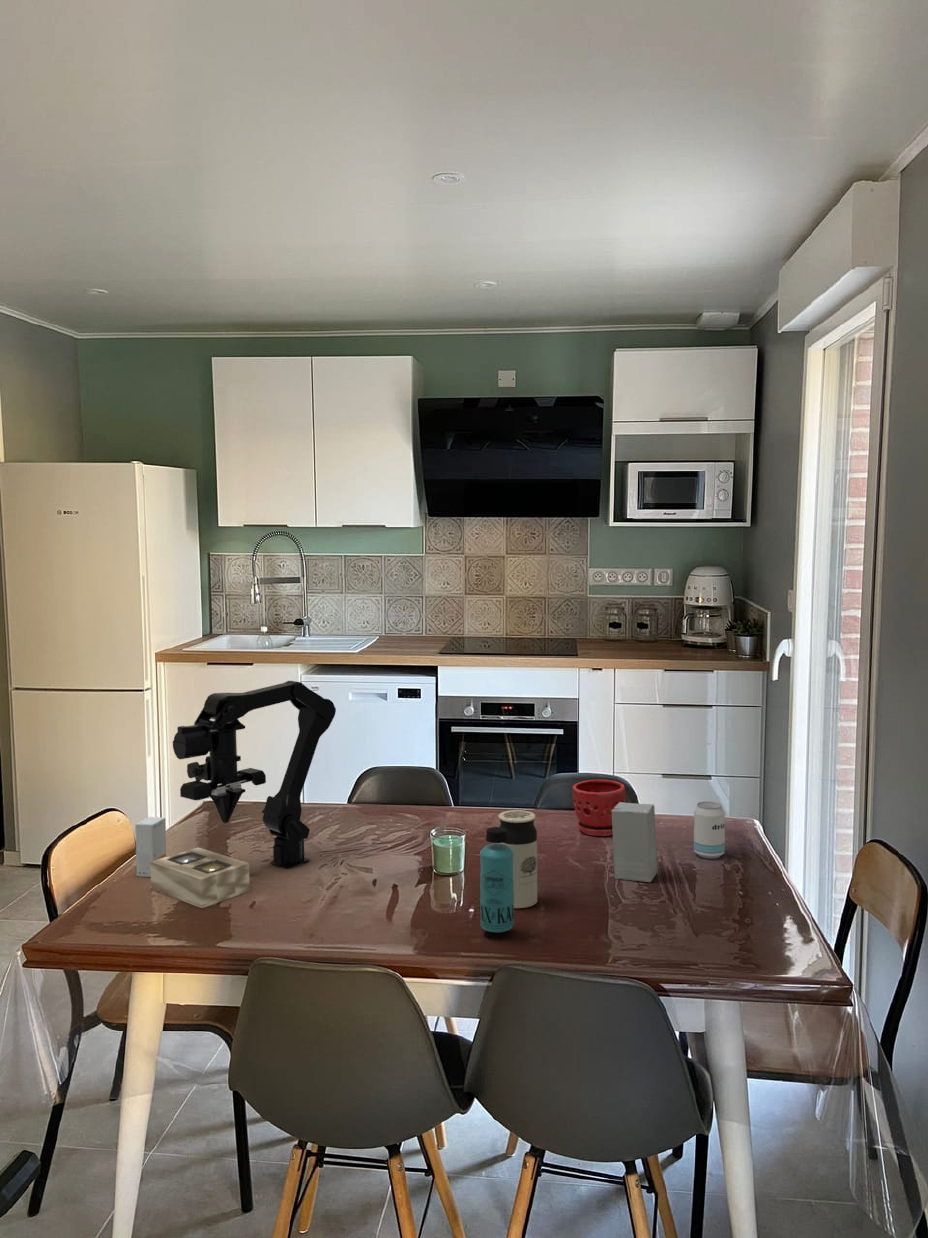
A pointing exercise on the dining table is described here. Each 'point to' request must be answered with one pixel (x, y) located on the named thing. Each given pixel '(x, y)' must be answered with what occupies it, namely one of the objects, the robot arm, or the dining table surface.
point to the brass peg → (212, 867)
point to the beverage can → (709, 830)
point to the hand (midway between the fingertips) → (225, 822)
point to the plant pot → (597, 805)
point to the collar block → (200, 877)
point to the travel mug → (522, 854)
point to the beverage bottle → (496, 883)
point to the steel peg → (186, 859)
